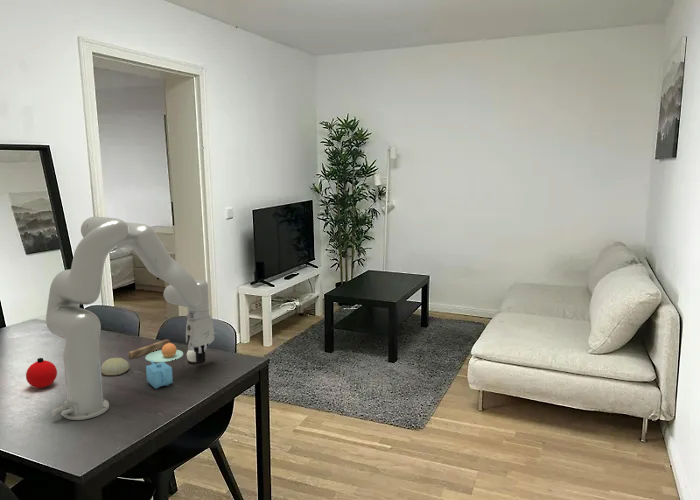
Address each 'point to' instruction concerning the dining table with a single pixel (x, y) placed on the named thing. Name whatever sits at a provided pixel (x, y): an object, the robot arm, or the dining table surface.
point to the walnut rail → (147, 349)
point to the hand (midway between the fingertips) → (200, 361)
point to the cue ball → (191, 356)
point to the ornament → (41, 373)
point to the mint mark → (162, 356)
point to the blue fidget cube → (159, 374)
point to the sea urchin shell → (114, 366)
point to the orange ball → (169, 350)
